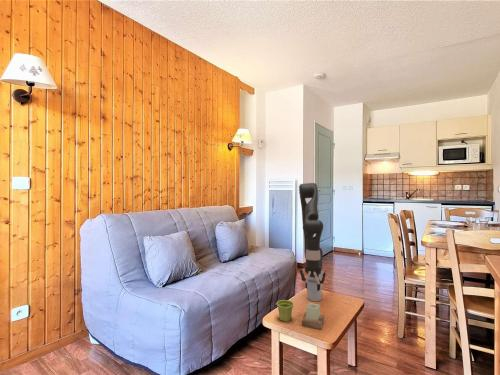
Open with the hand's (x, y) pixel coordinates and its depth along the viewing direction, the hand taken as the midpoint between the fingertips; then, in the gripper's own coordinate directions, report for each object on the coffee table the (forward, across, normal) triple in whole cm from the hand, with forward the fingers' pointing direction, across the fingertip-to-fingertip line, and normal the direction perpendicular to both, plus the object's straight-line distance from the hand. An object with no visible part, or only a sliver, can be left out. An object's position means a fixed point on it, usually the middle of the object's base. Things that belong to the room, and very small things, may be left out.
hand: (312, 289), depth 149 cm
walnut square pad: (+18, 0, 0) cm, 18 cm away
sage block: (+15, 0, 0) cm, 15 cm away
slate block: (+1, 0, 0) cm, 1 cm away
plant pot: (+18, -15, -1) cm, 23 cm away
